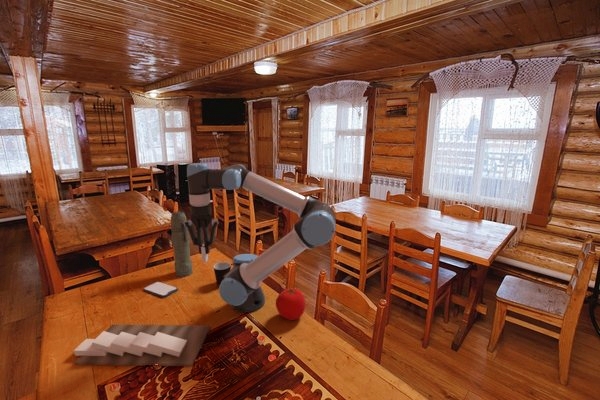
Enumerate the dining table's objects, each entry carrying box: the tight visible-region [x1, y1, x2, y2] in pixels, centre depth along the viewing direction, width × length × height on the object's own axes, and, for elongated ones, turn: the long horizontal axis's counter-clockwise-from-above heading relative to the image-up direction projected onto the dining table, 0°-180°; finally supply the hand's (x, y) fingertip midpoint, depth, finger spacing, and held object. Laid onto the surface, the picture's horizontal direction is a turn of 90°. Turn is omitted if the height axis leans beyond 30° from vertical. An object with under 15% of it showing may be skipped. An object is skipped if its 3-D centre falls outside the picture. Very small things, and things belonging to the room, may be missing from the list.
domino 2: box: [91, 330, 125, 356], centre depth 107 cm, size 2×6×11 cm
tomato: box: [275, 287, 306, 321], centre depth 127 cm, size 12×12×13 cm
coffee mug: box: [212, 261, 233, 287], centre depth 155 cm, size 12×9×10 cm
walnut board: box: [74, 324, 211, 367], centre depth 112 cm, size 40×20×1 cm, turn 89°
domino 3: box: [110, 332, 144, 356], centre depth 107 cm, size 2×6×11 cm
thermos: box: [170, 211, 193, 278], centre depth 162 cm, size 9×12×35 cm
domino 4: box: [130, 332, 164, 357], centre depth 107 cm, size 2×6×11 cm
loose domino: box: [148, 332, 187, 357], centre depth 107 cm, size 2×6×11 cm
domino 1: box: [73, 338, 109, 357], centre depth 108 cm, size 2×6×11 cm
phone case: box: [143, 281, 179, 299], centre depth 149 cm, size 9×2×16 cm
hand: (205, 260), depth 121 cm, fingers closed
